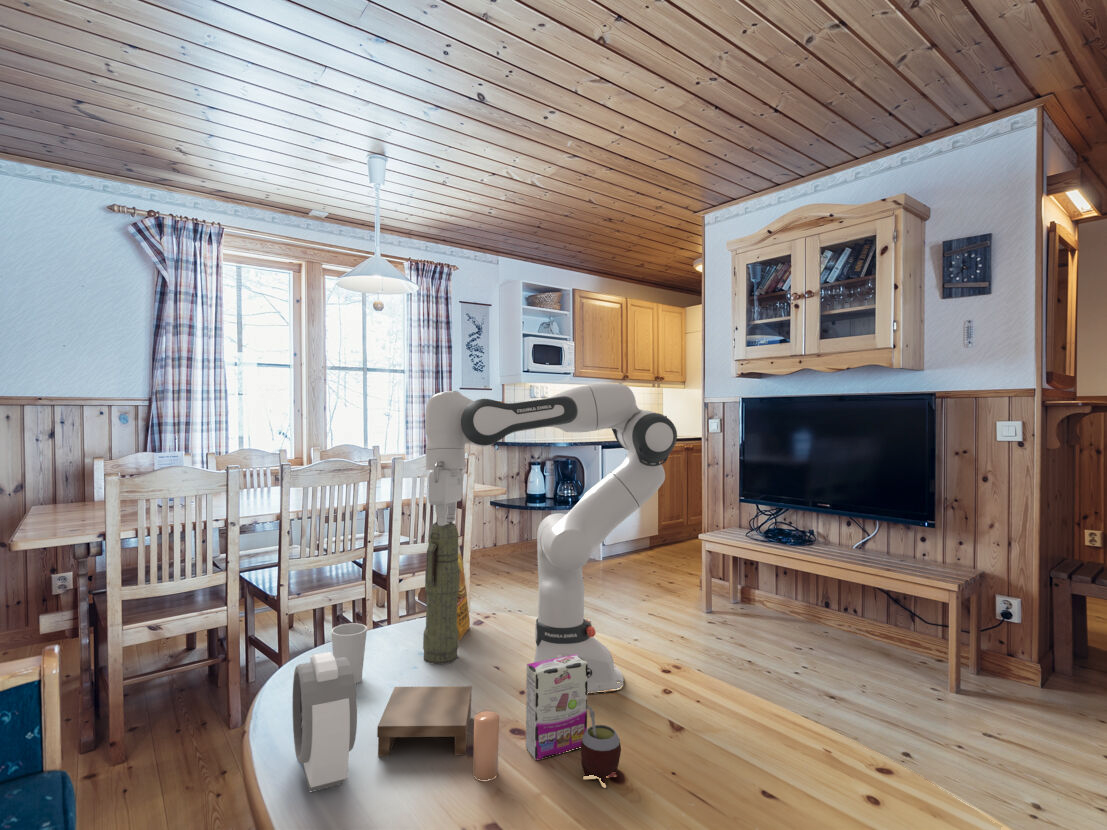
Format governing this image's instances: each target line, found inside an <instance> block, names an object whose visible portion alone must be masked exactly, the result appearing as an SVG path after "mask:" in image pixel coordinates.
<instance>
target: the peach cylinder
mask: <svg viewBox="0 0 1107 830" xmlns="http://www.w3.org/2000/svg"><path fill="white" fill-rule="evenodd" d="M474 715H475V716H474V717H473V719H474V721H473V723H474V724H473V753H472V754H473V756H472V758H473V759H472V763H473V764H472V776H473V775H474V776H475V777H476V778H477V779H480V780H488V779H492V778H494V777H495V776H496V775H497V774H498V775H499V750H500V749H499V745H500V714H499V713H497V712H494V711H490V710H489V711H487V710H486V711H485V710H484V711H480V712H478V713H476V714H474Z"/></svg>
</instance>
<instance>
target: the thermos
mask: <svg viewBox="0 0 1107 830" xmlns="http://www.w3.org/2000/svg"><path fill="white" fill-rule="evenodd" d="M458 544H459V532H458V528H457V525H456V523H454V522H447V524H446V525H443V526H439V525H438V523H437V521H436V522H434V523H432V524H431V526H430V529H429V534H428V545H427V550H426V567H425V573H424V575H425V577H424V578H425V579H424V590H425V593H426V607H425V609H426V611H425V612H426V613H425V629H424V630H423V639H422V640H423V643H422V645H423V646H422V650H423V661H425V662H426V663H428V664H432V665H446V664H447V665H448V664H449V663H453V662H455V661H456V660H457V659H458V648H459V641H458V636H459V632H458V629H457V593H458V591H459V585H460V568H459V565H458Z"/></svg>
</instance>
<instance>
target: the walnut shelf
mask: <svg viewBox="0 0 1107 830" xmlns="http://www.w3.org/2000/svg"><path fill="white" fill-rule="evenodd" d="M472 687H473V686H472V685H471V686H468V685H467V686H457V685H456V686H449V685H448V686H394V688H393V690H392V693H391V695H390V697H389V699H388V702H387V704H386V705H385V708H384V711H383V713H382V715H381V717H380V720H379V722H378V724H377V729H376V730H377V732H376V733H377V734H376V737H377V738H378V740H377V741H378V742H377V743H378V745H377V757H389V756H390V754H391V751H392V749H393V746H394V744H395V741H396V738H410V737H411V738H419V737H420V738H423V737H424V738H425V737H426V738H427V737H428V738H429V737H430V738H431V737H432V738H433V737H435V738H436V737H438V738H439V737H446V738H447V737H454V756H462V755H461V754H465V753H466V752H467V747H466V746H468V738H469V731H470V724H471V717H472V711H471V710H472V693H473V692H472V690H473V688H472ZM465 755H466V754H465Z"/></svg>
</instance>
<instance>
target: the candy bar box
mask: <svg viewBox="0 0 1107 830" xmlns="http://www.w3.org/2000/svg"><path fill="white" fill-rule="evenodd" d="M587 664H588V663H587V662H586V661H585V660H583V659H582V658H581V657H579V656H578V655H576V654H575V655H570V656H565V657H560V658H555V659H550V660H545V661H540V662H535V663H534V662H530V663H527V664H526V693H525V694H526V695H525V696H526V697H525V699H526V705H525V706H526V707H525V719H526V720H525V749H526V748H527V749H528V750H527V749H526V750H527V752H528V751H529V752H530V753H531V754H530V753H529V752H528V753H529V754H530V756H532V758H533V757H534V758H533V759H534V760H535V759H536V760H537V759H541V760H543V759H542V758H545V757H549V756H552V755H556V754H559V753H563V752H566V751H569V750H572V749H576V748H579V747H581V742H582V738H583V735H584V733H585V731H586V730H587V729H588V708H587V707H586V706H585V705H588V694H587V674H588V673H587V671H588V665H587ZM566 753H567V752H566ZM563 754H564V753H563ZM559 755H560V754H559ZM556 756H557V755H556ZM552 757H553V756H552ZM549 758H550V757H549ZM545 759H546V758H545ZM536 760H535V761H536ZM537 761H538V760H537Z"/></svg>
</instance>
